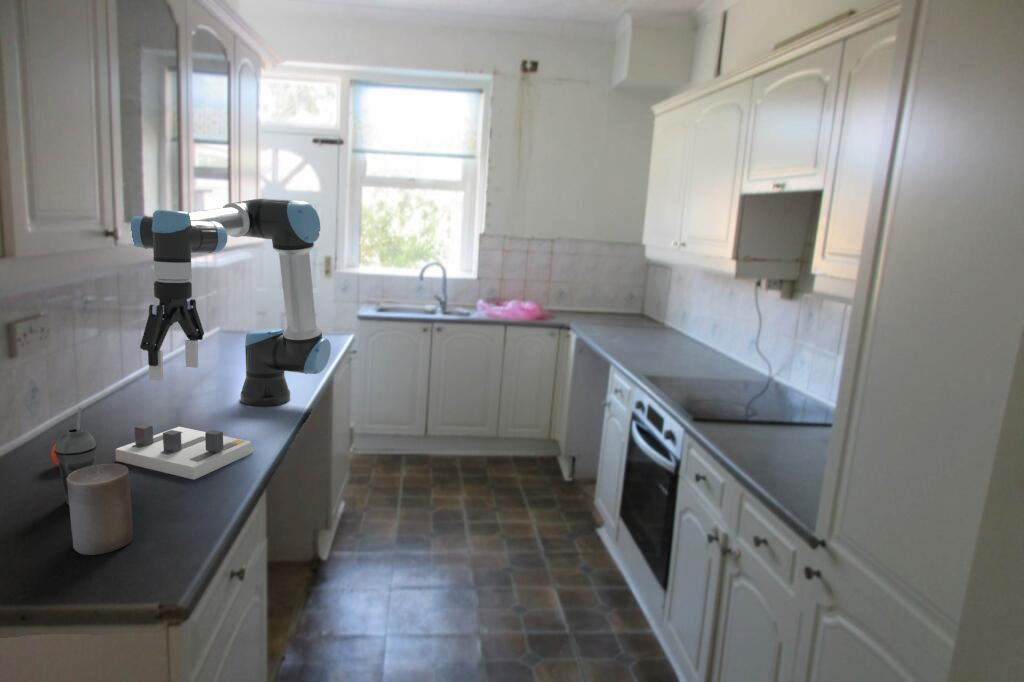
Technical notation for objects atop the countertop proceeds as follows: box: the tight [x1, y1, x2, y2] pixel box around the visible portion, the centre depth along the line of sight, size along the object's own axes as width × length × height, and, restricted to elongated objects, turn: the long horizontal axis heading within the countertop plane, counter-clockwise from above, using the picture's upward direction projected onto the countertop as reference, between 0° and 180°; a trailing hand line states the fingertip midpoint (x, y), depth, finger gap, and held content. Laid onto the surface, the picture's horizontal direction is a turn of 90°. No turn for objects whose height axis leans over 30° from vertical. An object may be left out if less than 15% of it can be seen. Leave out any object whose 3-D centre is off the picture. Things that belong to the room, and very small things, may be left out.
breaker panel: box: [115, 423, 253, 481], centre depth 162 cm, size 19×24×8 cm
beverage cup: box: [54, 407, 98, 506], centre depth 135 cm, size 7×7×20 cm
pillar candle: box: [66, 463, 135, 556], centre depth 120 cm, size 10×10×15 cm
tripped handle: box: [205, 429, 224, 453], centre depth 159 cm, size 2×3×4 cm
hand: (174, 373), depth 150 cm, fingers open, 13 cm apart
